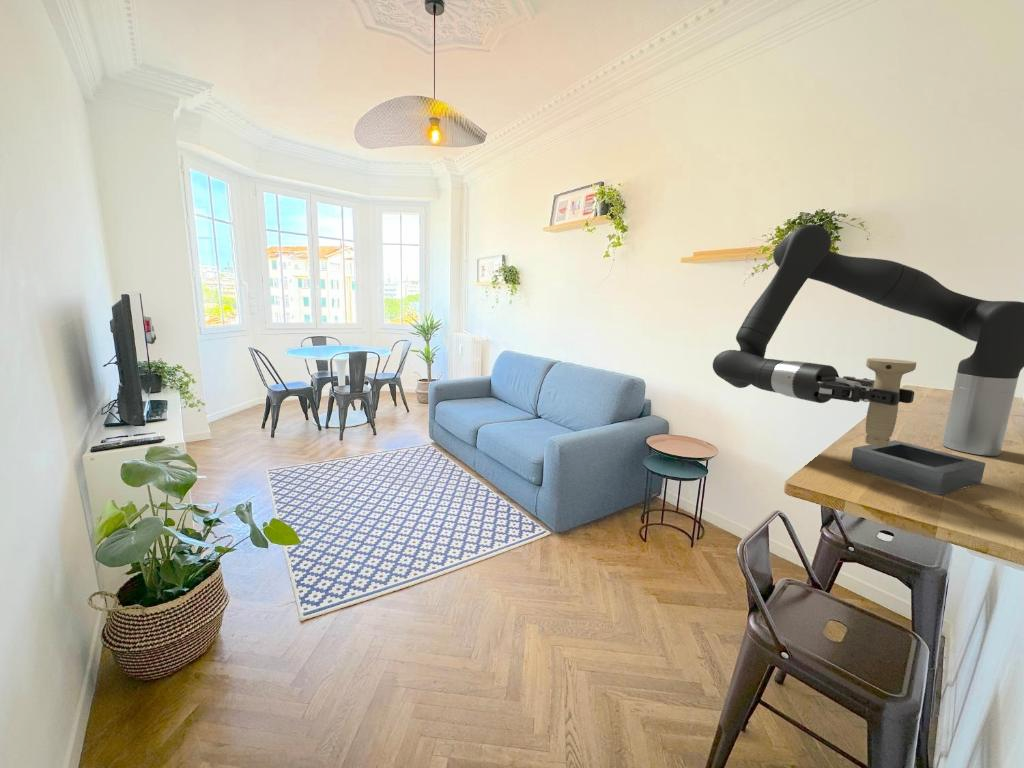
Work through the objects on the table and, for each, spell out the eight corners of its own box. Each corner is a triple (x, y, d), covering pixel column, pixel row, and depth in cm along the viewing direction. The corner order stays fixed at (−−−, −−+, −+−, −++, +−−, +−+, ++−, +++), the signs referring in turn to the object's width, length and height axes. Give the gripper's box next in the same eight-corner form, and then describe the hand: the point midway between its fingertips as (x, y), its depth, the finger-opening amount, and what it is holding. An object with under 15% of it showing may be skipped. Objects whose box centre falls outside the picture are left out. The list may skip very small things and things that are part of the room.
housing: (891, 458, 92) (894, 440, 91) (980, 483, 79) (985, 462, 79) (850, 466, 87) (853, 447, 86) (938, 495, 74) (943, 473, 73)
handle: (899, 452, 73) (915, 364, 70) (851, 443, 77) (864, 360, 74) (902, 445, 76) (917, 361, 73) (856, 437, 80) (869, 357, 77)
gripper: (781, 364, 84) (883, 379, 69) (828, 360, 90) (933, 373, 74) (777, 401, 86) (875, 424, 70) (823, 395, 91) (925, 415, 75)
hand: (904, 398), depth 72 cm, fingers closed on handle, 3 cm apart
